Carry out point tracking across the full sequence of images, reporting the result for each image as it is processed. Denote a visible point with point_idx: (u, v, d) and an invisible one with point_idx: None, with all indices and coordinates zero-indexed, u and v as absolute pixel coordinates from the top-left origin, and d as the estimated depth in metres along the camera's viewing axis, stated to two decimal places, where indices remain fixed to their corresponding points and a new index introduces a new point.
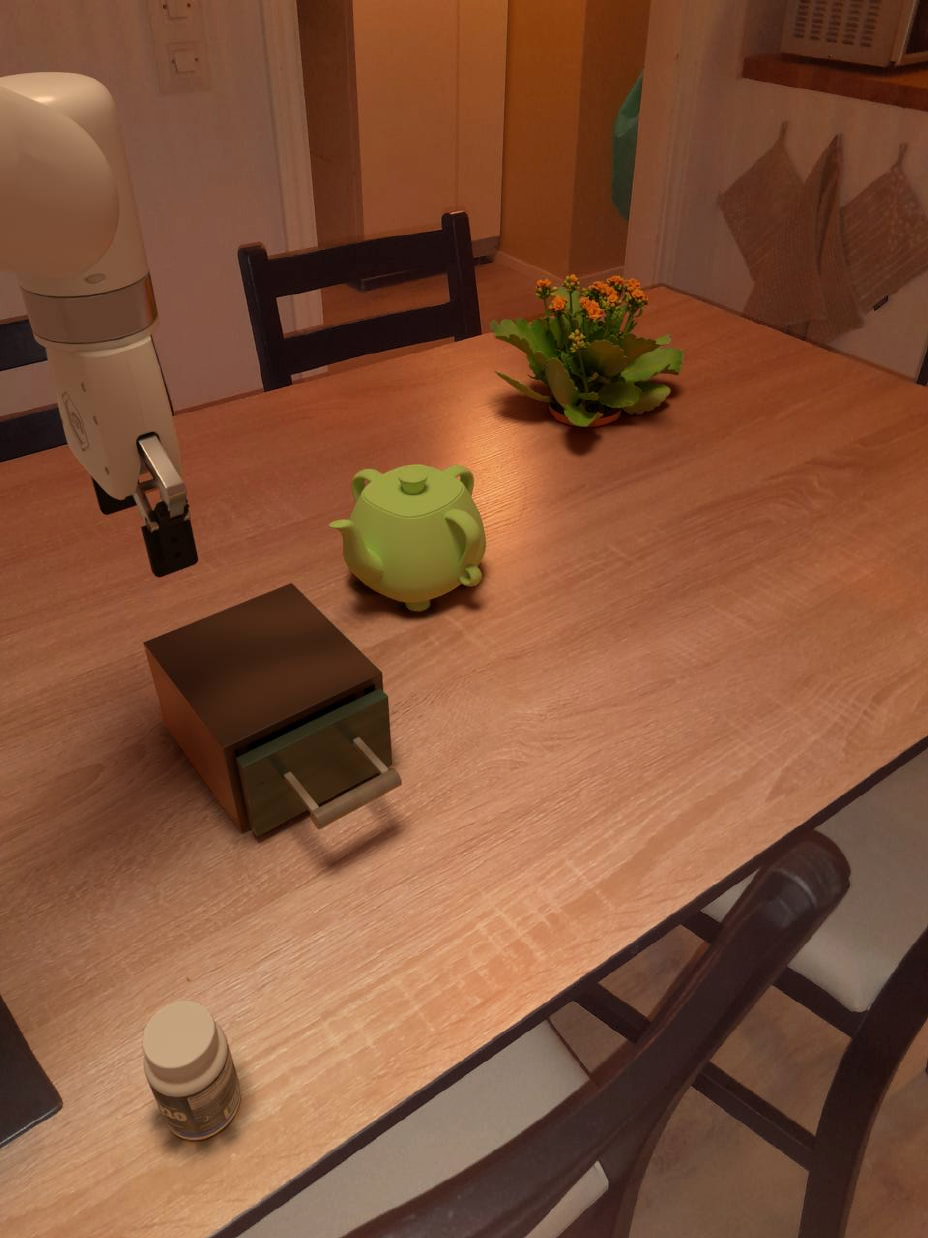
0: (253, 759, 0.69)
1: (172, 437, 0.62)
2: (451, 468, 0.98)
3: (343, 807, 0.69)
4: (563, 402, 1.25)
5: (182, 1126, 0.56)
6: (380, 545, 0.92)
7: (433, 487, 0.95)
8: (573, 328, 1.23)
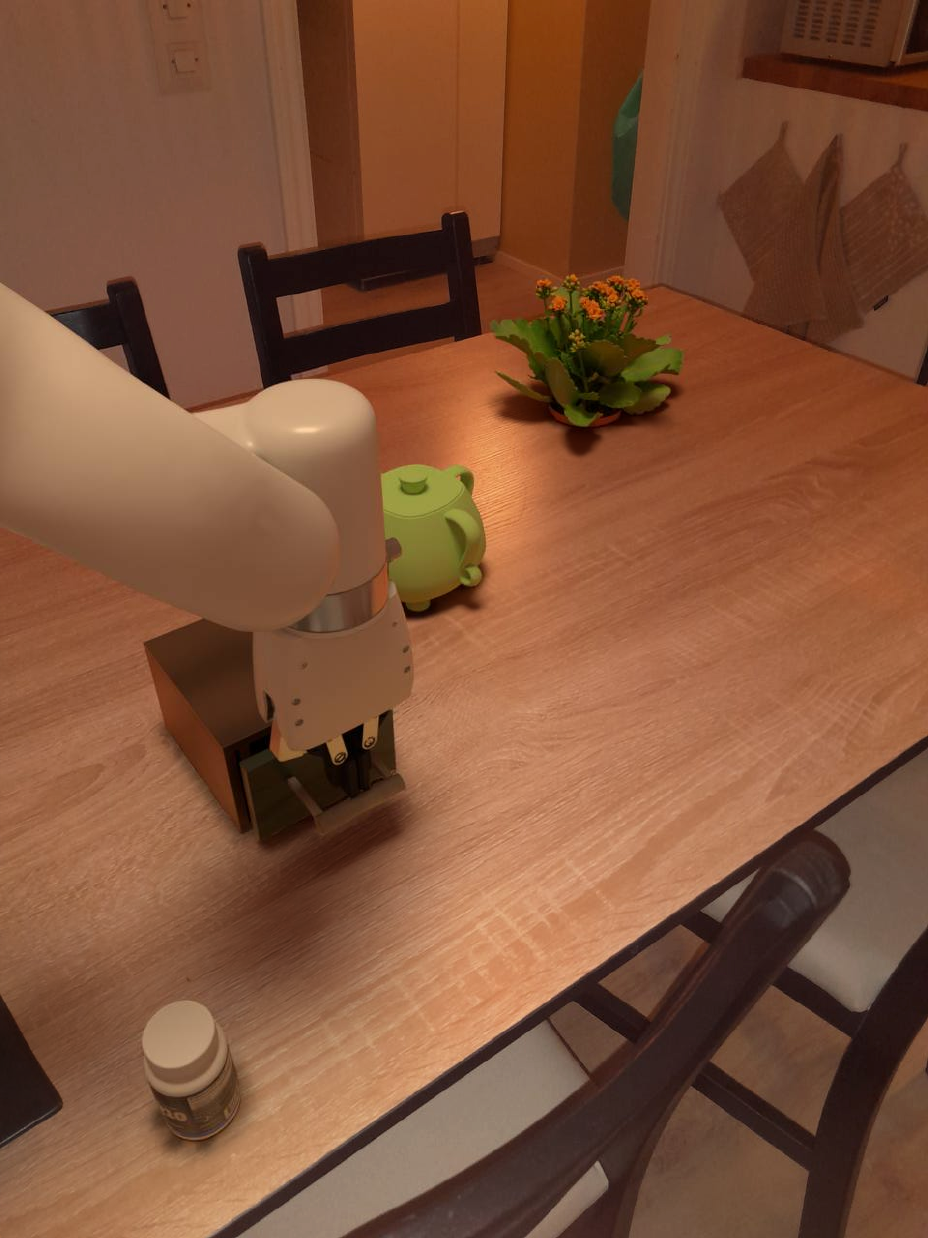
0: (257, 764, 0.69)
1: (284, 718, 0.61)
2: (451, 468, 0.98)
3: (347, 812, 0.69)
4: (563, 402, 1.25)
5: (182, 1126, 0.56)
6: None
7: (433, 487, 0.95)
8: (573, 328, 1.23)
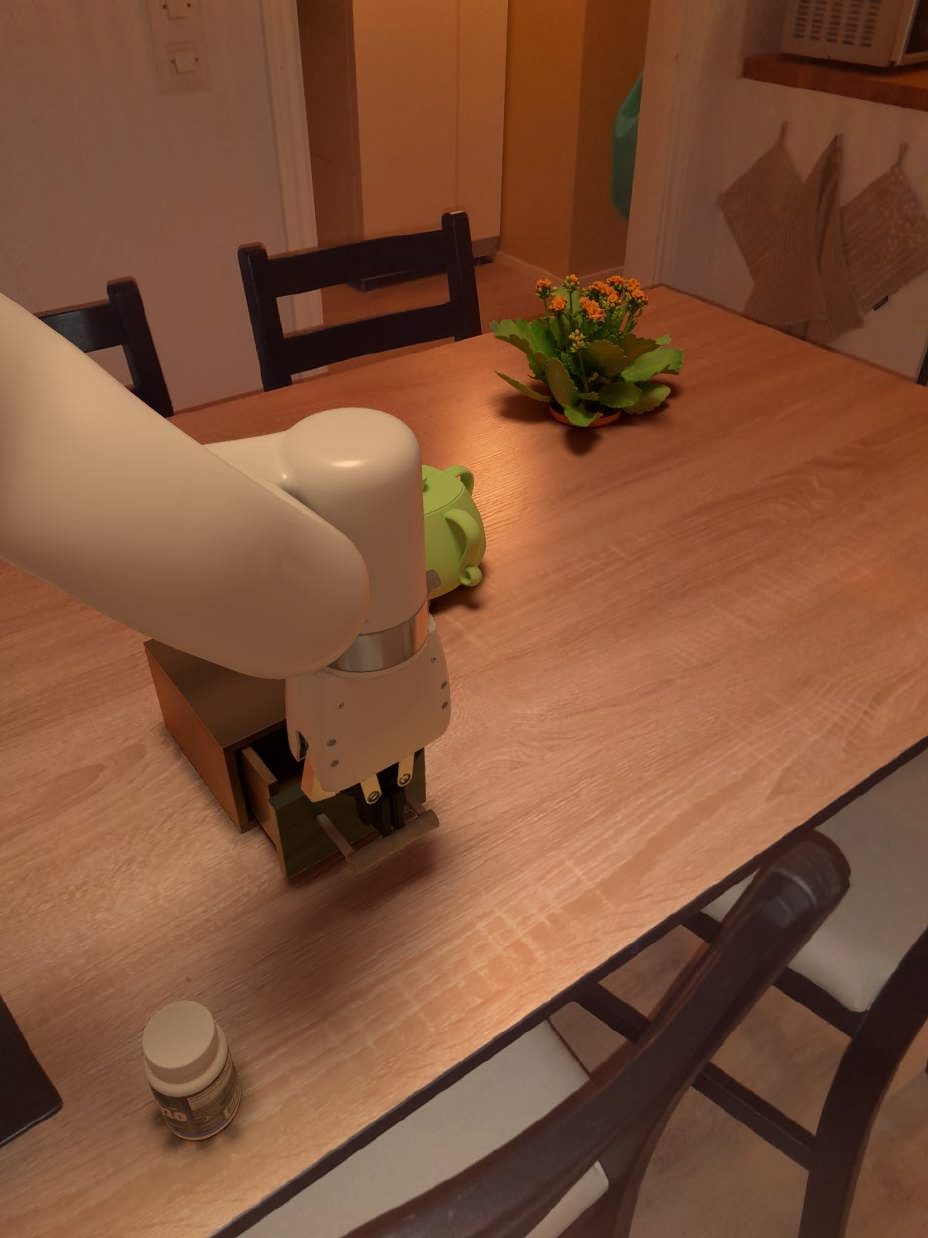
0: (286, 801, 0.66)
1: (318, 759, 0.58)
2: (451, 468, 0.98)
3: (379, 852, 0.66)
4: (563, 402, 1.25)
5: (182, 1126, 0.56)
6: None
7: (433, 487, 0.95)
8: (573, 328, 1.23)
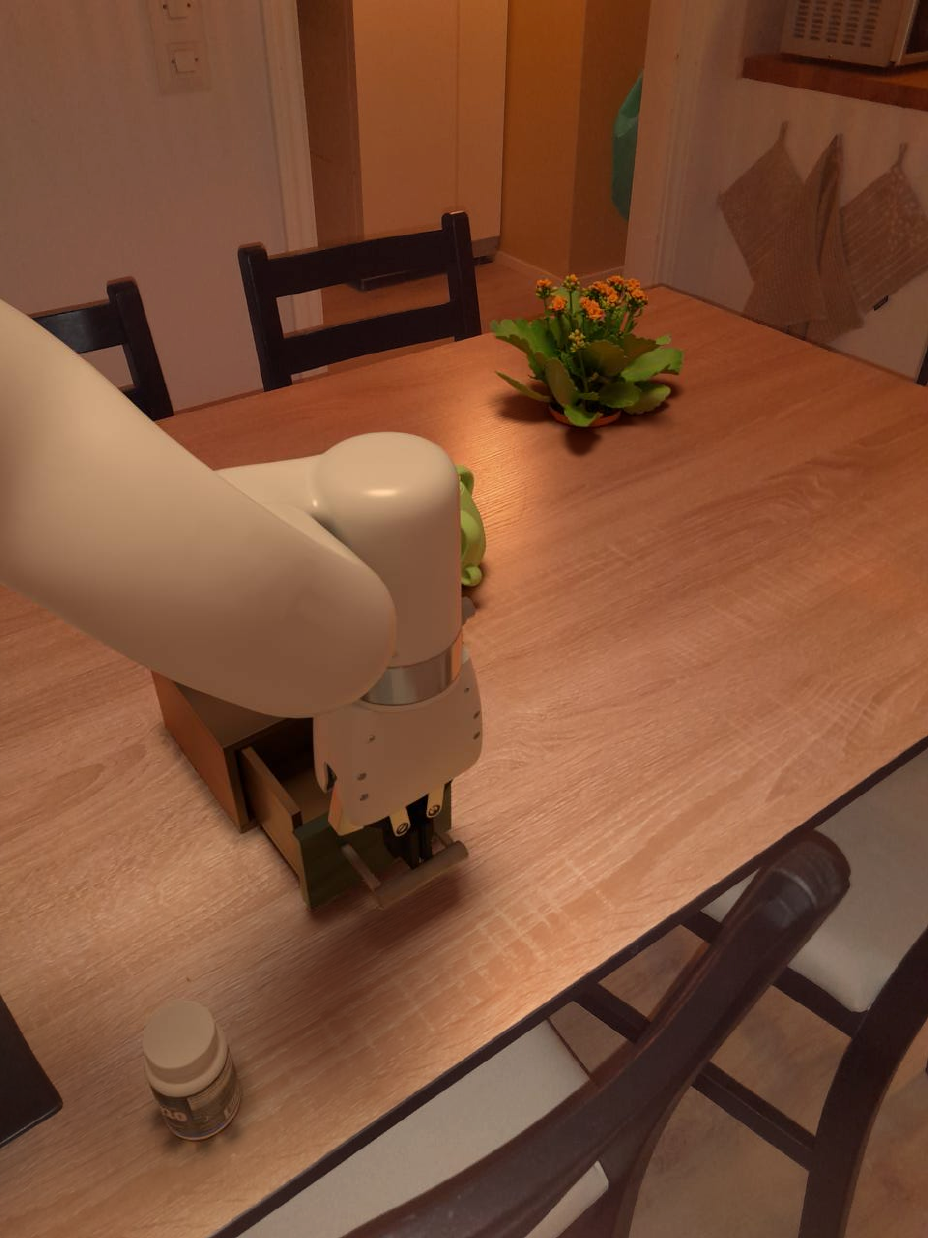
0: (310, 833, 0.64)
1: (348, 793, 0.56)
2: None
3: (407, 885, 0.64)
4: (563, 402, 1.25)
5: (182, 1126, 0.56)
6: None
7: None
8: (573, 328, 1.23)
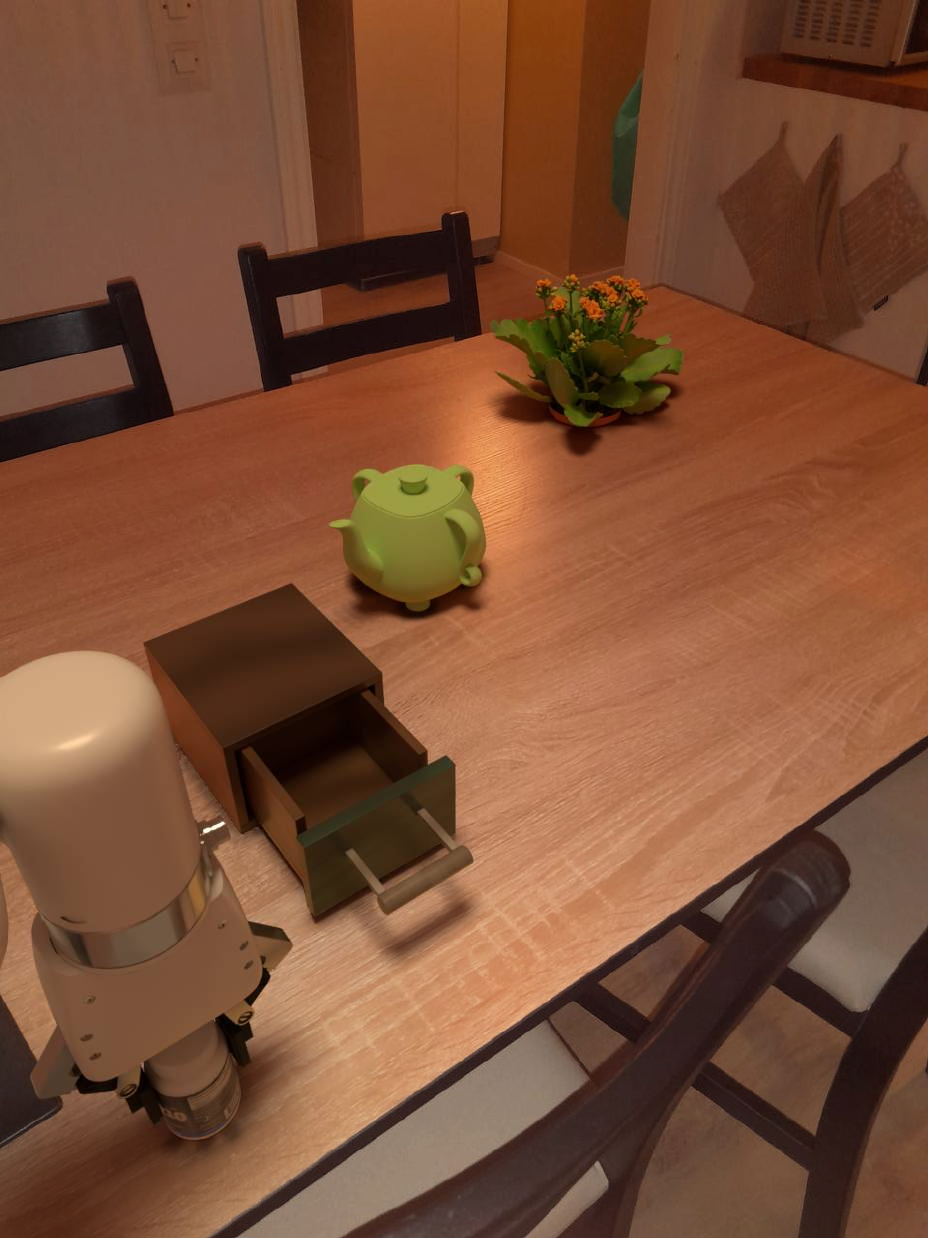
0: (314, 838, 0.64)
1: (74, 1053, 0.47)
2: (451, 468, 0.98)
3: (412, 891, 0.64)
4: (563, 402, 1.25)
5: (182, 1126, 0.56)
6: (380, 544, 0.92)
7: (433, 487, 0.95)
8: (573, 328, 1.23)
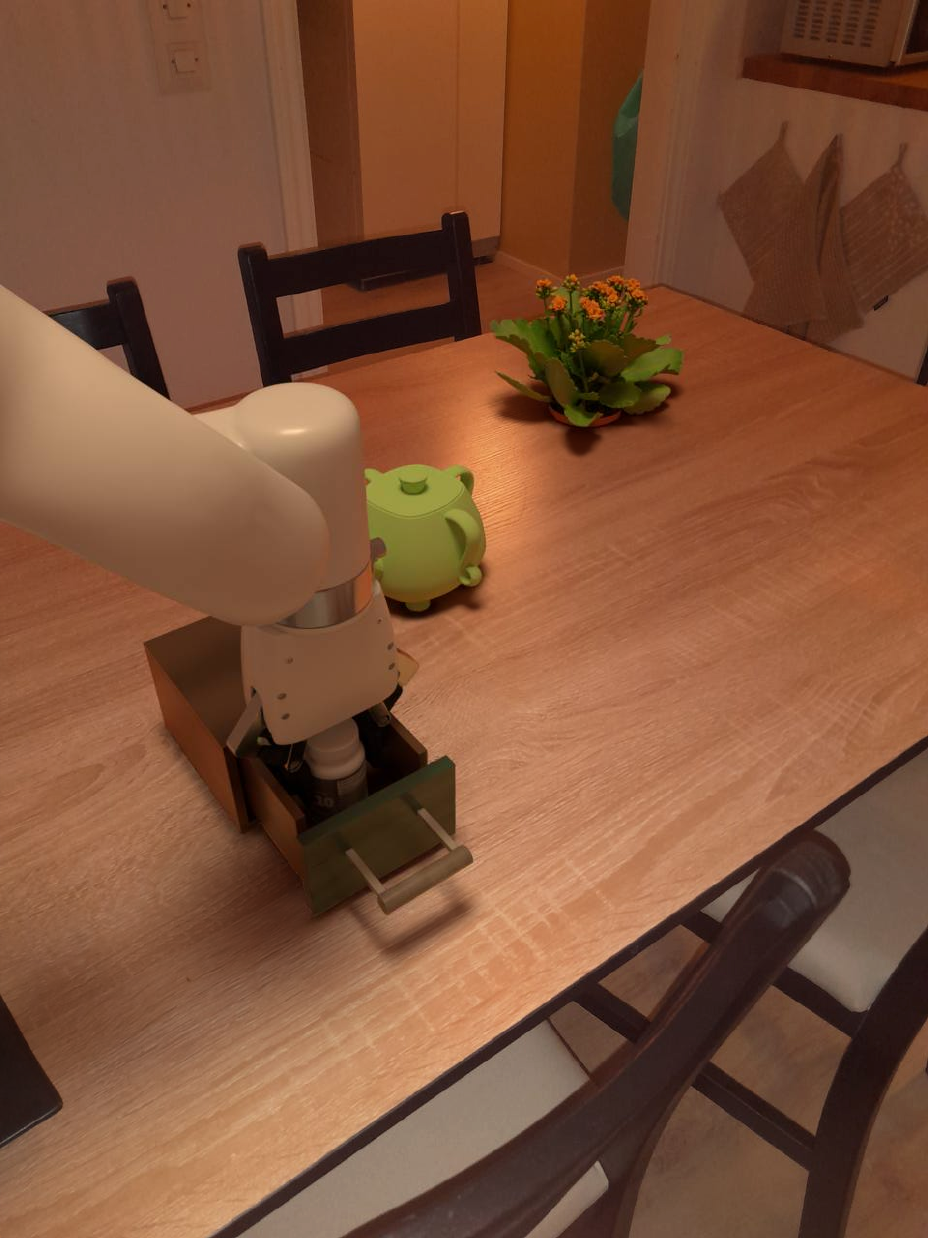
0: (314, 838, 0.64)
1: (270, 712, 0.62)
2: (451, 468, 0.98)
3: (412, 891, 0.64)
4: (563, 402, 1.25)
5: (328, 813, 0.72)
6: None
7: (433, 487, 0.95)
8: (573, 328, 1.23)
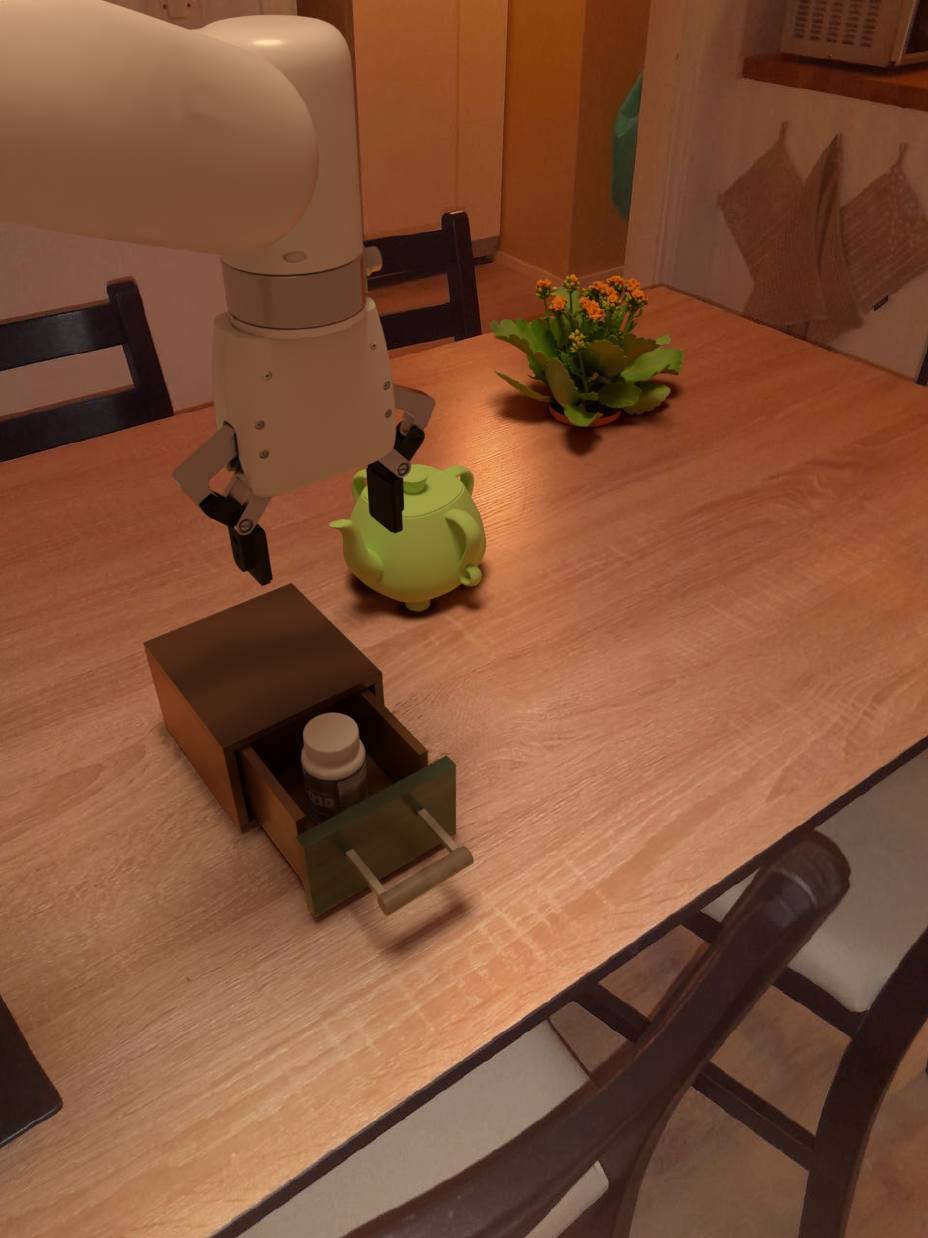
0: (315, 839, 0.64)
1: (246, 447, 0.54)
2: (451, 468, 0.98)
3: (412, 891, 0.64)
4: (563, 402, 1.25)
5: (329, 814, 0.72)
6: (380, 544, 0.92)
7: (433, 487, 0.95)
8: (573, 328, 1.23)
